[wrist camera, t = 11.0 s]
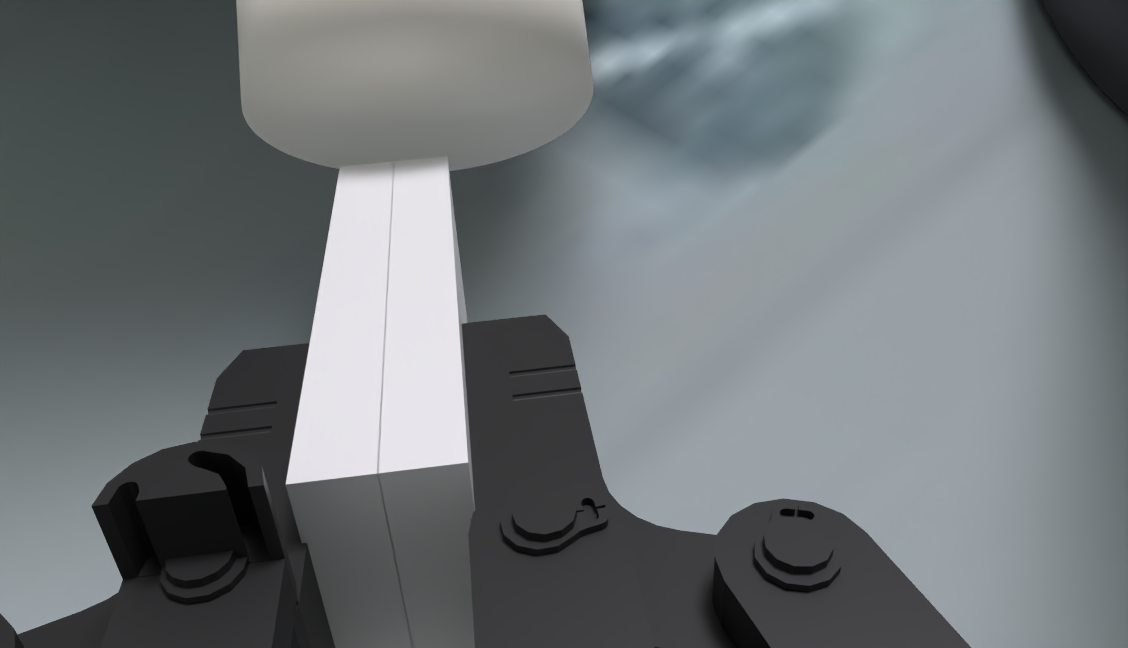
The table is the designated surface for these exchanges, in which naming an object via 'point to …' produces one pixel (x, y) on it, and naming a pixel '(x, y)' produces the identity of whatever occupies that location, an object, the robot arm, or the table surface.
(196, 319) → the table surface
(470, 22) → the knob
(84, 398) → the table surface
